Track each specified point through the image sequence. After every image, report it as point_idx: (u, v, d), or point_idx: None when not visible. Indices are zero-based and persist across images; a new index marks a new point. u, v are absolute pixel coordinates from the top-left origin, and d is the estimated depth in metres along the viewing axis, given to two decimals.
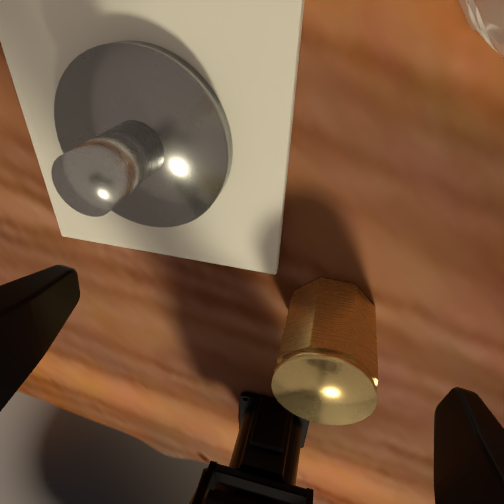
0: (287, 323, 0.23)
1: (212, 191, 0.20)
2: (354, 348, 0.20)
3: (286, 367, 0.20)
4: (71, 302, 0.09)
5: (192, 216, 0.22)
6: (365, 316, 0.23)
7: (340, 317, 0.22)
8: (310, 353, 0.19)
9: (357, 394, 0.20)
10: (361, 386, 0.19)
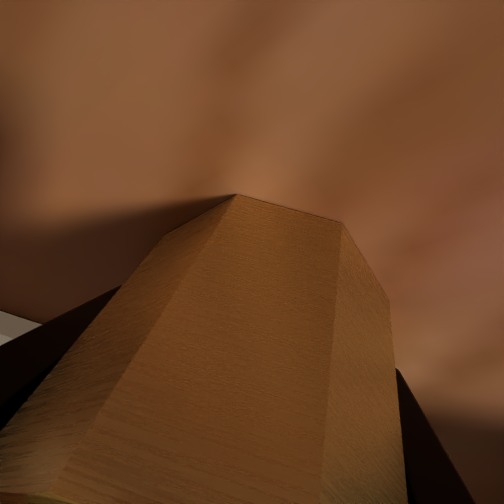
0: None
1: None
2: None
3: None
4: None
5: None
6: (159, 267, 0.07)
7: None
8: None
9: None
10: None
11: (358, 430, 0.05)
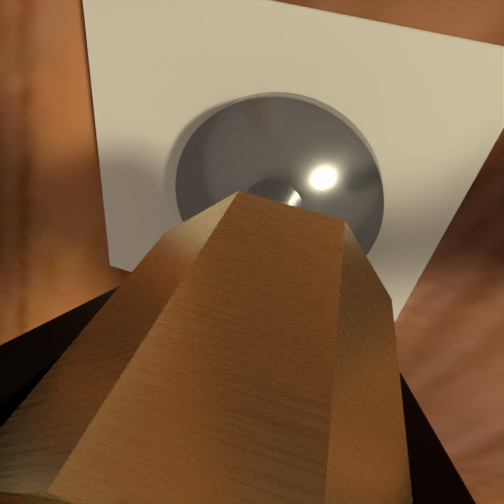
0: None
1: (339, 133, 0.15)
2: None
3: None
4: None
5: (373, 173, 0.15)
6: (160, 264, 0.07)
7: None
8: None
9: None
10: None
11: (362, 429, 0.05)
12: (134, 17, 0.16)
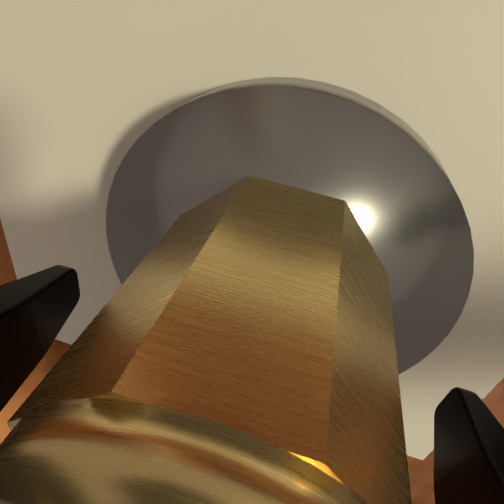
0: None
1: (402, 157, 0.08)
2: (33, 391, 0.05)
3: None
4: (71, 302, 0.09)
5: (460, 231, 0.08)
6: (180, 238, 0.08)
7: None
8: None
9: None
10: (48, 500, 0.04)
11: (360, 367, 0.05)
12: None
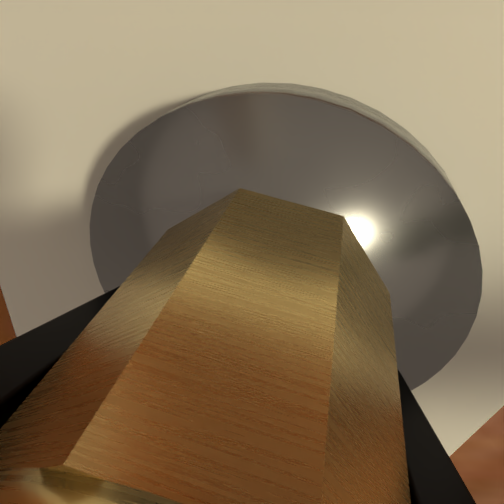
0: None
1: (406, 170, 0.07)
2: None
3: None
4: None
5: (468, 249, 0.08)
6: (164, 259, 0.07)
7: None
8: None
9: None
10: None
11: (359, 413, 0.05)
12: None
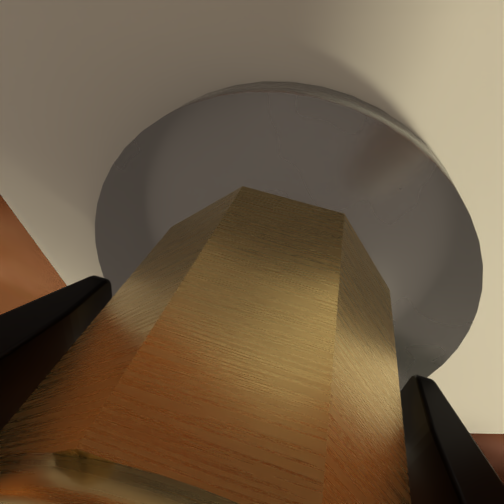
0: None
1: (448, 335, 0.09)
2: (1, 430, 0.05)
3: None
4: None
5: (404, 384, 0.10)
6: (168, 255, 0.07)
7: None
8: None
9: None
10: None
11: (360, 404, 0.05)
12: None
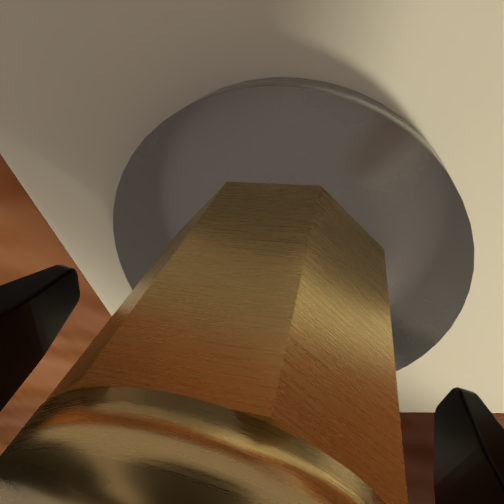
0: None
1: (442, 314, 0.10)
2: None
3: None
4: (71, 302, 0.09)
5: (402, 362, 0.11)
6: None
7: None
8: None
9: None
10: None
11: (196, 290, 0.06)
12: None
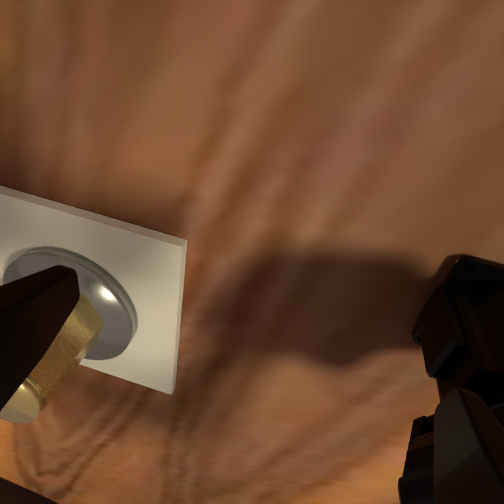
0: (74, 358, 0.24)
1: (85, 278, 0.24)
2: None
3: (33, 411, 0.21)
4: (71, 302, 0.09)
5: (112, 300, 0.25)
6: None
7: None
8: None
9: None
10: None
11: None
12: None
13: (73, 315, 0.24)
